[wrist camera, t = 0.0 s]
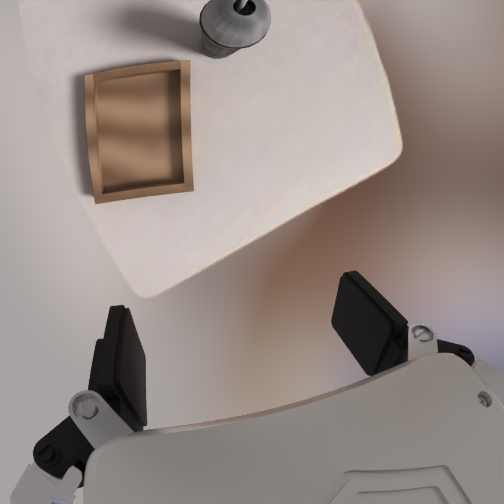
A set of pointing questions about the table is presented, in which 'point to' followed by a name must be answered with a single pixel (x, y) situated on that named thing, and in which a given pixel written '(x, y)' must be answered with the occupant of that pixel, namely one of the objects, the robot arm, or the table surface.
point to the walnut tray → (139, 131)
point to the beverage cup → (233, 25)
